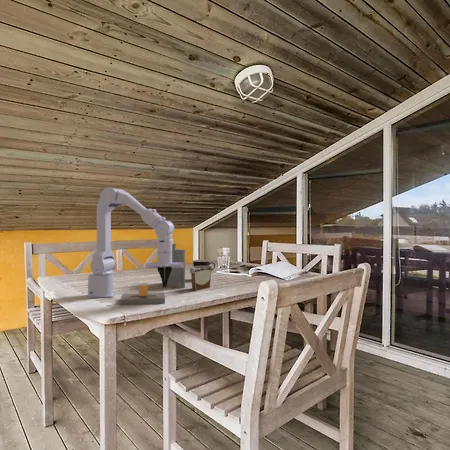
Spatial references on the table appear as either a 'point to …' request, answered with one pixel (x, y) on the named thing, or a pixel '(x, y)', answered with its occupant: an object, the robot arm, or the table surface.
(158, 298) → the panel
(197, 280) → the food container
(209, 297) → the table surface
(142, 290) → the knob
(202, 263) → the coffee mug
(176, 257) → the hip flask
